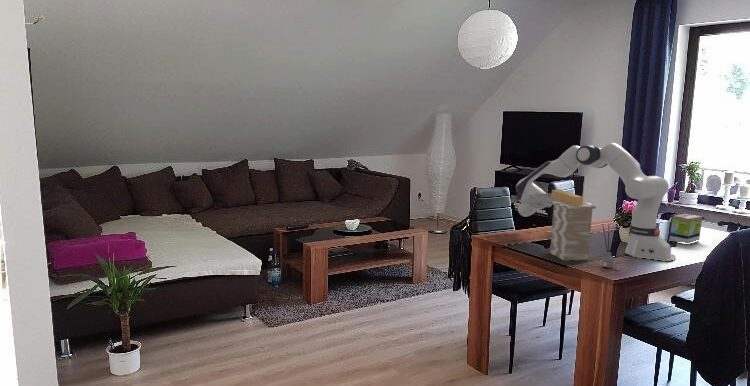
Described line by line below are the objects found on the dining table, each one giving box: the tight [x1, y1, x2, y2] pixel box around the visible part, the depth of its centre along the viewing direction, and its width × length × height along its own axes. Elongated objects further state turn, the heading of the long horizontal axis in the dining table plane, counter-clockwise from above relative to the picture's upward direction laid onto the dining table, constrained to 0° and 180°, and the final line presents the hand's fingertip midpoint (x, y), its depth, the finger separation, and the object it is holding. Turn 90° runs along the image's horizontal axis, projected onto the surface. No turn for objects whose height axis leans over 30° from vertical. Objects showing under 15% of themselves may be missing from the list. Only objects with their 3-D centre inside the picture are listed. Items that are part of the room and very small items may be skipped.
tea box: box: [669, 213, 703, 243], centre depth 305 cm, size 15×10×15 cm
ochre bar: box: [551, 189, 584, 205], centre depth 271 cm, size 22×4×4 cm, turn 11°
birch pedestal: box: [549, 200, 597, 262], centre depth 268 cm, size 16×14×26 cm
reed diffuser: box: [601, 223, 621, 271], centre depth 250 cm, size 10×7×20 cm
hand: (546, 193), depth 295 cm, fingers open, 8 cm apart
